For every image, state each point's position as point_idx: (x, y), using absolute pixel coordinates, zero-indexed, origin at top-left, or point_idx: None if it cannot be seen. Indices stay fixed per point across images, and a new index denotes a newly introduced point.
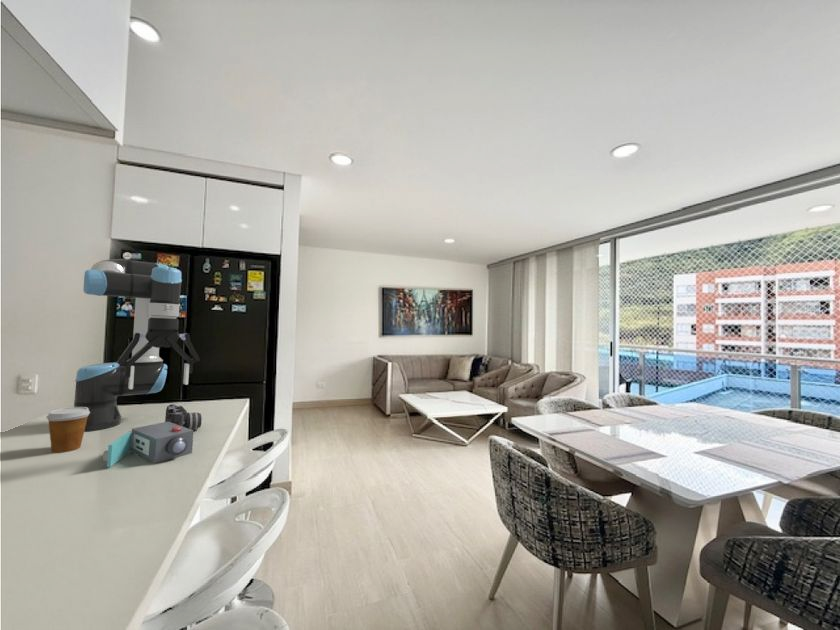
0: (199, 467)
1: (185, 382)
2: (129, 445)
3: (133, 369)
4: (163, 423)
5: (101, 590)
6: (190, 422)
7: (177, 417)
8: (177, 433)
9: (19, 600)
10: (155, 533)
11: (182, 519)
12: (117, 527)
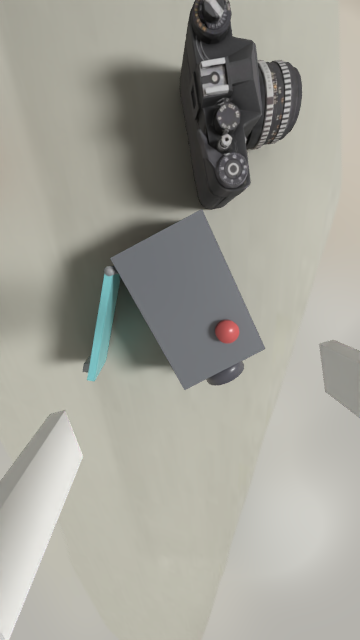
0: (252, 417)
1: (334, 397)
2: (118, 278)
3: (17, 604)
4: (189, 231)
5: (168, 635)
6: (259, 143)
7: (229, 192)
8: (228, 360)
9: (114, 628)
10: (200, 578)
11: (225, 562)
12: (161, 554)
